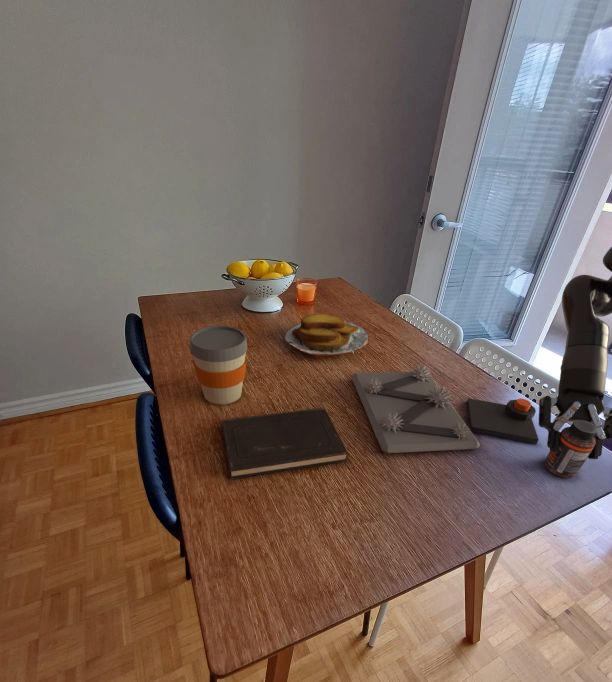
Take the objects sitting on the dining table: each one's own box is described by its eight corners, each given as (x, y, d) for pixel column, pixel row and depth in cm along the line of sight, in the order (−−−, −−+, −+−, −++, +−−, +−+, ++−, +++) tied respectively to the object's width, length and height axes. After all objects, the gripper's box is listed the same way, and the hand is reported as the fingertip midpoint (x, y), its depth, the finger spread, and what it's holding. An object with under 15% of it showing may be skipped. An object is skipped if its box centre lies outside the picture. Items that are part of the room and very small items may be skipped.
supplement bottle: (539, 456, 84) (563, 413, 77) (570, 461, 83) (596, 418, 76) (547, 476, 79) (573, 432, 72) (580, 482, 78) (608, 438, 71)
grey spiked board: (349, 379, 105) (353, 355, 100) (427, 377, 108) (433, 354, 103) (382, 457, 81) (388, 430, 77) (480, 452, 84) (491, 426, 80)
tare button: (526, 405, 94) (529, 399, 93) (529, 413, 92) (532, 407, 91) (512, 403, 95) (515, 397, 94) (514, 410, 92) (517, 404, 91)
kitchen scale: (527, 412, 97) (532, 402, 95) (539, 444, 87) (544, 434, 85) (466, 401, 99) (469, 391, 98) (470, 431, 89) (474, 421, 88)
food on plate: (327, 372, 107) (329, 350, 103) (268, 339, 121) (268, 319, 117) (384, 345, 122) (387, 325, 118) (325, 318, 136) (327, 300, 132)
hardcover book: (346, 461, 79) (348, 452, 78) (230, 479, 74) (229, 470, 72) (323, 414, 92) (323, 406, 90) (221, 426, 86) (221, 418, 85)
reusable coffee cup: (255, 403, 94) (254, 345, 85) (201, 413, 89) (194, 354, 81) (241, 376, 103) (238, 322, 94) (192, 384, 99) (184, 328, 90)
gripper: (553, 360, 76) (541, 445, 74) (635, 373, 74) (627, 462, 72) (536, 371, 84) (525, 448, 81) (611, 383, 81) (602, 463, 79)
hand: (573, 454), depth 76 cm, fingers open, 6 cm apart
